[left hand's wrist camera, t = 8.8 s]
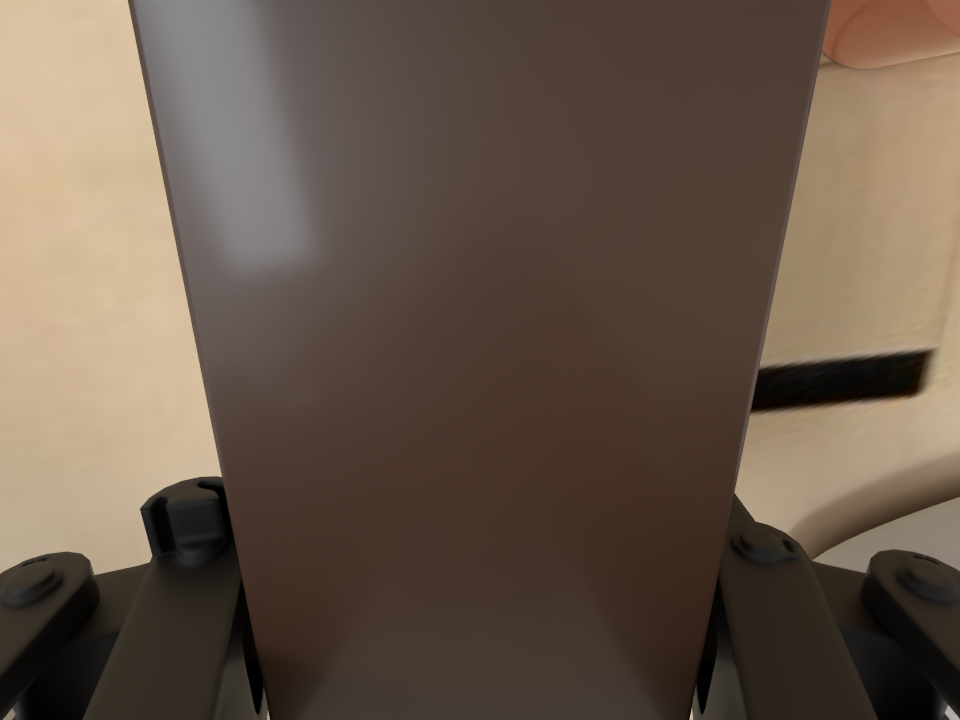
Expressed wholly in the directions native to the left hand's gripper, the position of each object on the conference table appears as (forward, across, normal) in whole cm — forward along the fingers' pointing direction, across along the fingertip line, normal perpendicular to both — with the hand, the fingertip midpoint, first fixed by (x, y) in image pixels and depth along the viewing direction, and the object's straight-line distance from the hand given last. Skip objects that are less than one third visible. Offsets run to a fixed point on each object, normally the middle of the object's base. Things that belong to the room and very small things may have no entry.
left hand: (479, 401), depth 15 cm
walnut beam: (0, 0, -9) cm, 9 cm away
